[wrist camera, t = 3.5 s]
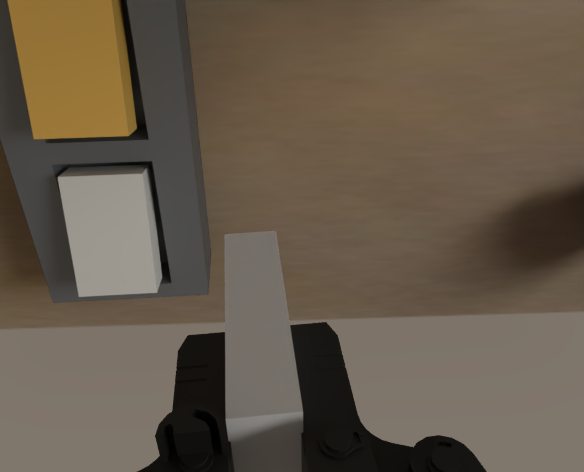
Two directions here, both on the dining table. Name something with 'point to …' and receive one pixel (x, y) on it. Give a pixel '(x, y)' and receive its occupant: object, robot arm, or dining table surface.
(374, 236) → the dining table surface
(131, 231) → the rocker grey
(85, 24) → the rocker amber
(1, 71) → the power strip
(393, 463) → the robot arm
